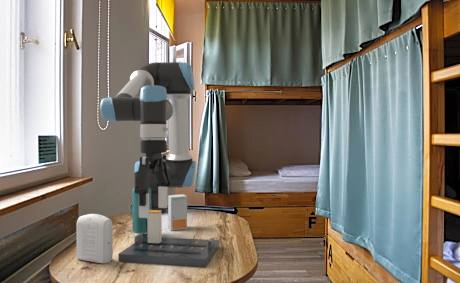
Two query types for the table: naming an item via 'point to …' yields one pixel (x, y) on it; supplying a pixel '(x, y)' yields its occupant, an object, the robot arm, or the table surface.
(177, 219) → the skincare box
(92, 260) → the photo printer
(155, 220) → the fader
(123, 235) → the table surface
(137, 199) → the beverage bottle
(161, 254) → the console
